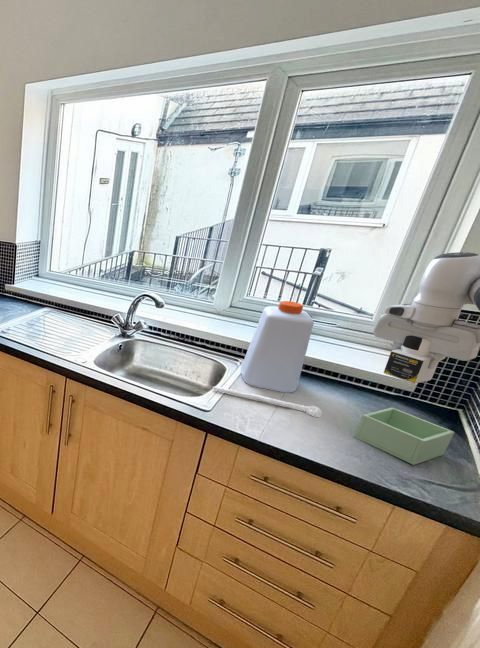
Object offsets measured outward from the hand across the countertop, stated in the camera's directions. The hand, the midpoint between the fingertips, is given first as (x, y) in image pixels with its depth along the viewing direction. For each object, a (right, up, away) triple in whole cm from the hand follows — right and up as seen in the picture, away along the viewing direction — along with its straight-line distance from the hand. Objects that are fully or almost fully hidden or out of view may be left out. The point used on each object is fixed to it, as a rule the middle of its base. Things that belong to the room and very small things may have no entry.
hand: (412, 363), depth 114 cm
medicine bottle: (0, -4, +2) cm, 4 cm away
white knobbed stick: (-31, -14, +14) cm, 37 cm away
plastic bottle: (-20, -8, +29) cm, 36 cm away
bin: (-10, -21, -5) cm, 24 cm away
